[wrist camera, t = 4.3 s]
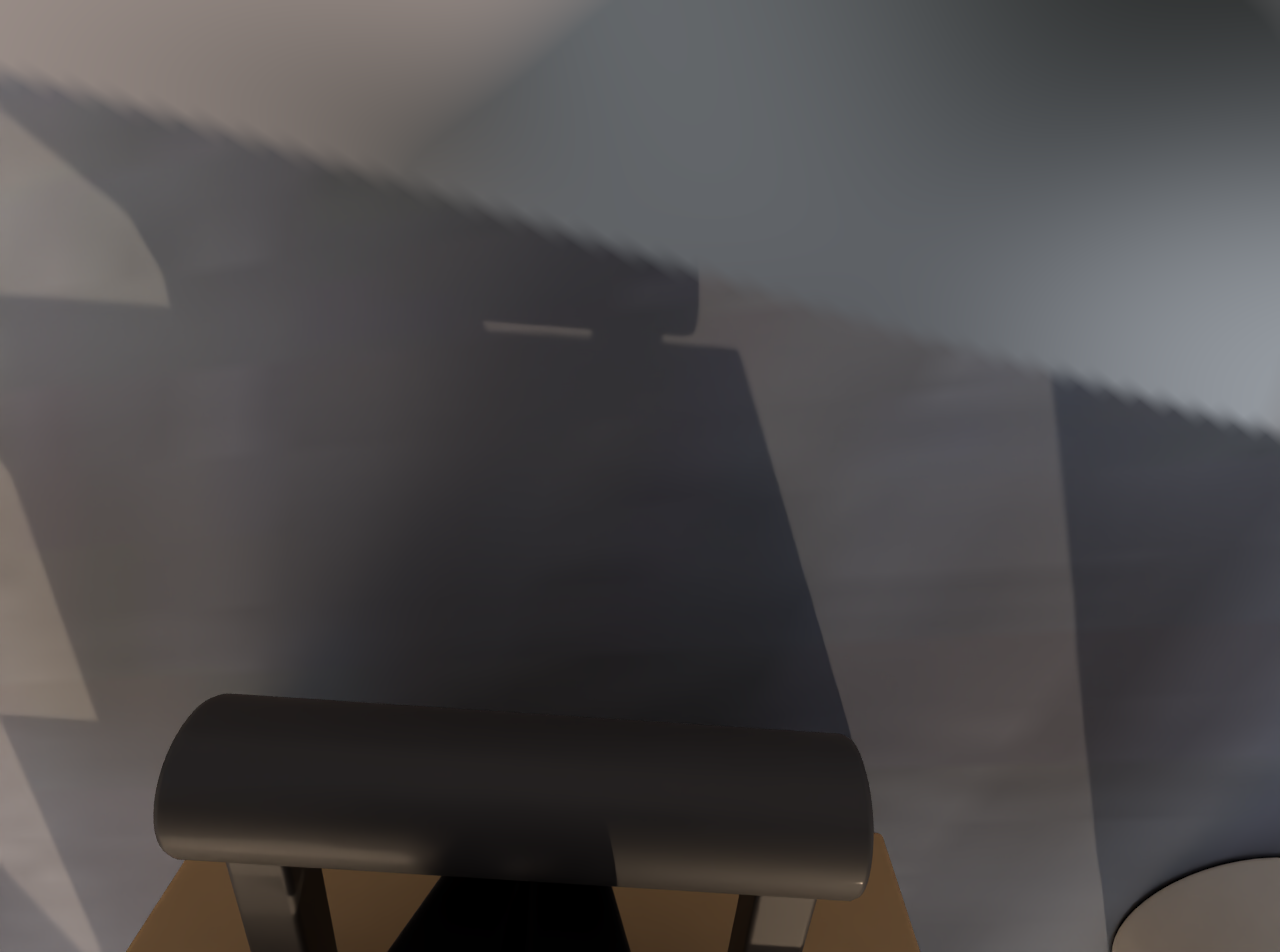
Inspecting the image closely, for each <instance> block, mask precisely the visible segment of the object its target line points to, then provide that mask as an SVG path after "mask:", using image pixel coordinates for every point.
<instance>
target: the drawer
mask: <svg viewBox="0 0 1280 952" xmlns="http://www.w3.org/2000/svg"><path fill="white" fill-rule="evenodd" d="M154 829H155V834H156V838H157V841H158V843H159V845H160V847H161V848H162V850H163V851H164V852H166V853H167V854H168V855H170V856H171V857H173V858H175V859H179V860H185V861H184V863H183V864H182V866H181V867H180V869H179V870H178V872H177V874H176V875H175V877H174V878H173V880H172V881H171V883H170V884H169V886H168V887H167V889H166V891H165V892H164V894H163V895H162V897H161V898H160V900H159V901H158V903H157V905H156V906H155V908H154V909H153V911H152V912H151V914H150V915H149V917H148V918H147V920H146V922H145V923H144V925H143V926H142V928H141V929H140V931H139V932H138V934H137V936H136V937H135V939H134V940H133V942H132V943H131V945H130V946H129V948H128V949H127V951H126V952H387V951H388V950H389V948H390V947H391V946H392V944H393V943H394V941H395V940H396V939H397V937H398V936H399V934H400V933H401V931H402V930H403V929H404V927H405V926H406V924H407V923H408V922H409V920H410V919H411V917H412V916H413V915H414V913H415V912H416V910H417V909H418V908H419V906H420V905H421V903H422V902H423V901H424V899H425V898H426V896H427V895H428V894H429V892H430V891H431V889H432V888H433V887H434V885H435V884H436V882H437V881H438V880H439V878H440V877H441V876H451V877H467V878H484V879H500V880H516V881H532V882H548V883H564V884H580V885H596V886H612V888H613V892H614V895H615V899H616V902H617V905H618V909H619V912H620V916H621V919H622V923H623V926H624V930H625V933H626V936H627V940H628V943H629V947H630V950H631V952H920V950H919V947H918V944H917V941H916V938H915V935H914V932H913V928H912V925H911V922H910V919H909V916H908V913H907V910H906V907H905V904H904V901H903V898H902V895H901V892H900V889H899V885H898V882H897V879H896V876H895V873H894V870H893V867H892V864H891V861H890V858H889V855H888V852H887V849H886V846H885V842H884V839H883V837H882V835H881V834H879V833H874V824H873V810H872V801H871V794H870V788H869V783H868V779H867V774H866V771H865V767H864V764H863V761H862V758H861V755H860V753H859V751H858V749H857V747H856V745H855V744H854V742H853V741H852V740H851V739H850V738H848V737H846V736H844V735H842V734H836V733H820V732H805V731H790V730H775V729H760V728H744V727H729V726H714V725H699V724H683V723H668V722H653V721H638V720H623V719H607V718H592V717H577V716H562V715H547V714H531V713H516V712H501V711H486V710H470V709H455V708H440V707H425V706H410V705H394V704H379V703H364V702H349V701H333V700H318V699H303V698H288V697H273V696H257V695H242V694H222V695H218V696H215V697H213V698H210V699H208V700H207V701H205V702H204V703H202V704H201V705H200V706H199V707H198V708H196V709H195V710H194V711H193V713H192V714H191V715H190V716H189V717H188V718H187V720H186V721H185V722H184V724H183V725H182V727H181V728H180V730H179V732H178V733H177V735H176V737H175V739H174V740H173V742H172V744H171V746H170V749H169V751H168V753H167V755H166V758H165V761H164V763H163V766H162V769H161V773H160V776H159V780H158V784H157V788H156V794H155V801H154Z"/></svg>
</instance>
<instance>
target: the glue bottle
mask: <svg viewBox="0 0 1280 952" xmlns="http://www.w3.org/2000/svg"><path fill="white" fill-rule="evenodd" d="M1112 952H1280V858H1277V857H1274V858H1258V859H1250V860H1243V861H1237V862H1233V863H1228V864H1224V865H1220V866H1216V867H1213V868H1210V869H1206V870H1203V871H1200V872H1198V873H1195V874H1192V875H1190V876H1187V877H1185V878H1183V879H1181V880H1179V881H1177V882H1174V883H1172V884H1170V885H1169V886H1167V887H1165V888H1163V889H1162V890H1160V891H1158V892H1157V893H1155V894H1154V895H1152V896H1151V897H1150V898H1148V899H1147V900H1145V901H1144V902H1143V903H1142V904H1141V905H1139V906H1138V907H1137V908H1136V909H1135V910H1134V911H1133V912H1132V913H1131V914H1130V915H1129V916H1128V917H1127V918H1126V920H1125V921H1124V923H1123V924H1122V925H1121V927H1120V928H1119V930H1118V932H1117V934H1116V936H1115V939H1114V942H1113V946H1112Z"/></svg>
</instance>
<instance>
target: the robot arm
mask: <svg viewBox="0 0 1280 952" xmlns="http://www.w3.org/2000/svg"><path fill="white" fill-rule="evenodd" d="M387 952H631V950H630V947H629V943H628V940H627V936H626V933H625V930H624V926H623V923H622V919H621V916H620V912H619V909H618V905H617V902H616V899H615V895H614V892H613V888H612V886H596V885H580V884H564V883H548V882H532V881H516V880H500V879H484V878H467V877H451V876H441V877H440V878H439V880H438V881H437V882H436V884H435V885H434V887H433V888H432V889H431V891H430V892H429V894H428V895H427V896H426V898H425V899H424V901H423V902H422V903H421V905H420V906H419V908H418V909H417V910H416V912H415V913H414V915H413V916H412V917H411V919H410V920H409V922H408V923H407V924H406V926H405V927H404V929H403V930H402V931H401V933H400V934H399V936H398V937H397V939H396V940H395V941H394V943H393V944H392V946H391V947H390V948H389V950H388V951H387Z"/></svg>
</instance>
